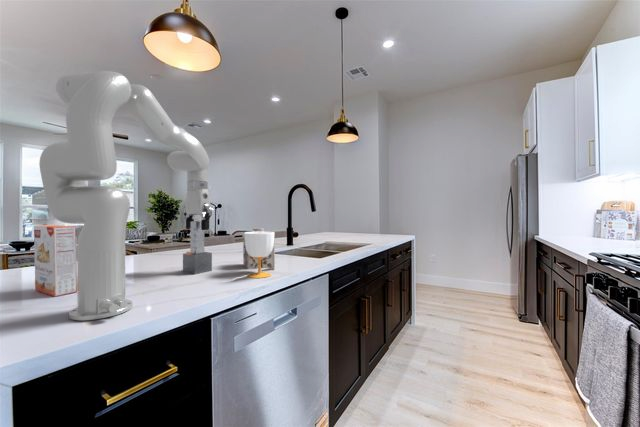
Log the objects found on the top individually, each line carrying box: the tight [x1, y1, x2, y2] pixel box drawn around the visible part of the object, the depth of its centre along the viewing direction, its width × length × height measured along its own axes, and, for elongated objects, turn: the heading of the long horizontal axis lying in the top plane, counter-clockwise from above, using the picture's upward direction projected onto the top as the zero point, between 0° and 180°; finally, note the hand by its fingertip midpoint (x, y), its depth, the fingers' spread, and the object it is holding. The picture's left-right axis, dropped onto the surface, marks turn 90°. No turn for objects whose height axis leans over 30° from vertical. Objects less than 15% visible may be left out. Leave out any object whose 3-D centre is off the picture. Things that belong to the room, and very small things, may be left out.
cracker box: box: [33, 224, 78, 298], centre depth 87 cm, size 14×6×21 cm, turn 62°
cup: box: [243, 230, 275, 279], centre depth 110 cm, size 12×12×17 cm
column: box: [189, 220, 205, 255], centre depth 110 cm, size 4×4×20 cm
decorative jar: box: [242, 227, 276, 272], centre depth 123 cm, size 12×12×18 cm
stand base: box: [182, 251, 213, 275], centre depth 111 cm, size 12×12×10 cm
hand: (197, 229), depth 111 cm, fingers open, 9 cm apart
